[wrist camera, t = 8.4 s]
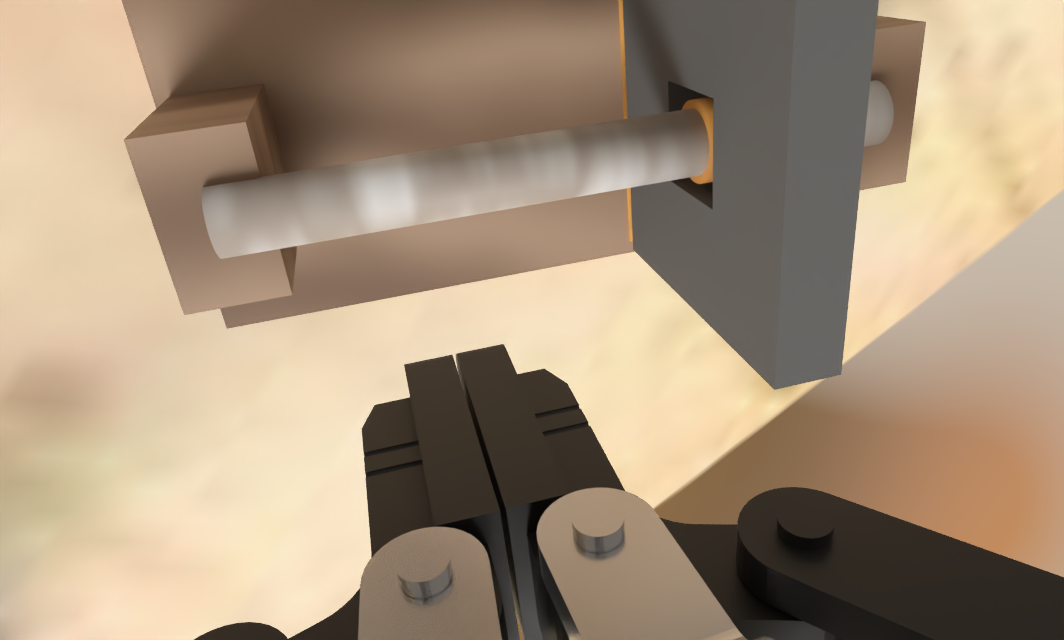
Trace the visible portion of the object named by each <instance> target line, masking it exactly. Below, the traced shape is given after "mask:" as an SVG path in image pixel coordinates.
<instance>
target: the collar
mask: <svg viewBox="0 0 1064 640" xmlns="http://www.w3.org/2000/svg"><path fill="white" fill-rule="evenodd" d="M878 1H879V0H623V20H624V44H625V67H626V91H627V115H628V118H634V117H641V116H647V115H653V114H660V113H666V112H672V111H678V110H682V108H683V106H684V104H685V103H686V102H687V101H689V100H693V99H699V98H706V97H711V98H713V99H714V108H713V182H709V183H703V184H697V183H695V182H694V181H692V180H691V178H690V177H689V178H683V179H677V180H672V181H666V182H660V183H654V184H649V185H643V186H637V187H632V188H631V211H632V234H633V250H634V251H635V252H636V253H637V254H638V255H639V256H640V257H641V258H642V259H643V260H644V261H645V262H646V263H647V264H648V265H649V266H650V267H651V268H652V269H653V270H654V271H655V272H656V273H657V274H658V275H659V276H660V277H661V278H662V279H664V280H665V281H666V282H667V283H668V284H669V285H670V286H671V287H672V288H673V289H674V290H675V291H676V292H677V293H678V294H679V295H680V296H681V297H682V298H683V299H684V300H685V301H686V302H687V303H688V304H689V305H690V306H691V307H692V308H693V309H694V310H695V311H696V312H697V313H698V314H699V315H700V316H701V317H702V318H703V319H704V320H705V321H706V322H707V323H708V324H709V325H710V326H711V327H712V328H713V329H714V330H715V331H716V332H717V333H718V334H719V335H720V336H721V337H722V338H723V339H724V340H725V341H726V342H727V343H728V344H729V345H730V346H731V347H732V348H733V349H734V350H735V351H736V352H737V353H738V354H739V355H740V356H741V357H742V358H743V359H744V360H745V361H746V362H747V363H748V364H749V365H750V366H751V367H752V368H753V369H754V370H755V371H756V372H757V373H758V374H759V375H760V376H761V377H762V378H763V379H764V380H765V381H766V382H767V383H768V384H769V385H770V386H771V387H772V388H773V389H774V390H775V389H780V388H784V387H788V386H793V385H797V384H802V383H806V382H810V381H815V380H819V379H824V378H828V377H832V376H836V375H841V369H842V360H843V350H844V340H845V330H846V320H847V310H848V300H849V290H850V280H851V270H852V260H853V250H854V240H855V230H856V220H857V210H858V200H859V190H860V180H861V170H862V160H863V150H864V140H865V130H866V120H867V110H868V100H869V90H870V80H871V70H872V61H873V51H874V41H875V31H876V21H877V11H878Z"/></svg>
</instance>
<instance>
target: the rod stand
mask: <svg viewBox="0 0 1064 640" xmlns="http://www.w3.org/2000/svg"><path fill="white" fill-rule="evenodd" d="M122 2H123V6H124V9H125V12H126V15H127V18H128V21H129V24H130V27H131V31H132V34H133V37H134V40H135V43H136V46H137V49H138V52H139V56H140V59H141V62H142V65H143V68H144V71H145V74H146V77H147V81H148V84H149V87H150V90H151V93H152V96H153V99H154V102H155V106H156V110H155V111H154V112H153V113H152V114H150V115H149V116H148V117H147V118H146V119H145V120H144V121H143V122H142V123H141V124H140V125H139V126H138V127H137V128H136V129H135V130H134V131H133V132H132V133H130V134H129V135H128V136H127V137H126V138H125V139H124V142H125V145H126V148H127V151H128V154H129V156H130V159H131V162H132V165H133V168H134V171H135V174H136V177H137V180H138V182H139V185H140V188H141V191H142V194H143V197H144V200H145V203H146V206H147V208H148V211H149V214H150V217H151V220H152V223H153V226H154V229H155V232H156V235H157V237H158V240H159V243H160V246H161V249H162V252H163V255H164V258H165V261H166V263H167V266H168V269H169V272H170V275H171V278H172V281H173V284H174V287H175V289H176V292H177V295H178V298H179V301H180V304H181V307H182V310H183V313H184V315H187V314H192V313H198V312H203V311H208V310H214V309H219V308H220V309H221V312H222V315H223V318H224V321H225V324H226V327H227V328H232V327H237V326H243V325H248V324H253V323H258V322H264V321H269V320H274V319H280V318H285V317H290V316H295V315H301V314H306V313H311V312H317V311H322V310H327V309H333V308H338V307H343V306H348V305H354V304H359V303H364V302H370V301H375V300H380V299H385V298H391V297H396V296H401V295H407V294H412V293H417V292H422V291H428V290H433V289H438V288H444V287H449V286H454V285H460V284H465V283H470V282H475V281H481V280H486V279H491V278H497V277H502V276H507V275H512V274H518V273H523V272H528V271H534V270H539V269H544V268H550V267H555V266H560V265H565V264H571V263H576V262H581V261H587V260H592V259H597V258H602V257H608V256H613V255H618V254H624V253H629V252H634V250H633V234H632V211H631V188H632V187H637V186H643V185H649V184H654V183H660V182H666V181H672V180H677V179H683V178H689V177H690V178H691V180H692V181H694V182H695V183H697V184H703V183H709V182H713V108H714V99H713V98H711V97H706V98H699V99H693V100H689V101H687V102H686V103H685V104H684V106H683V108H682V110H678V111H672V112H666V113H660V114H653V115H647V116H641V117H634V118H628V115H627V91H626V67H625V44H624V20H623V0H122ZM925 26H926V22H921V21H913V20H906V19H898V18H890V17H882V16H877V21H876V31H875V41H874V51H873V61H872V70H871V80H870V90H869V100H868V110H867V120H866V130H865V140H864V150H863V160H862V170H861V180H860V190H864V189H870V188H875V187H880V186H886V185H891V184H897V183H902V182H906V174H907V166H908V158H909V151H910V143H911V135H912V127H913V119H914V112H915V104H916V96H917V88H918V80H919V73H920V65H921V57H922V49H923V41H924V34H925Z"/></svg>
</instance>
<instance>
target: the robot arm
mask: <svg viewBox="0 0 1064 640" xmlns="http://www.w3.org/2000/svg"><path fill="white" fill-rule="evenodd" d="M456 362H457V368H456V365H455V362H454V358H453V356H452V355H449V356H444V357H439V358H434V359H429V360H424V361H420V362H415V363H410V364H405V365H404V366H405V371H406V377H407V382H408V387H409V393H410V398H406V399H401V400H396V401H392V402H387V403H382V404H377V405H375V406H374V407H373V409H372V411H371V413H370V415H369V417H368V418H367V420H366V422H365V424H364V426H363V428H362V437H363V449H364V456H365V457H364V462H365V473H366V487H367V500H368V513H369V526H370V538H371V551H372V557H371V559H370V561H369V562H368V564H367V566H366V567H365V569H364V572H363V575H362V578H361V584H360V589H359V590H358V591H357V592H356V594H355V595H354V596H353V597H352V598H351V599H350V600H349V601H348V602H347V603H346V604H345V605H344V606H343V607H342V608H340V609H339V610H338V611H336V612H335V613H334V614H332V615H331V616H329V617H327V618H326V619H324V620H322V621H321V622H319V623H317V624H315V625H313V626H311V627H310V628H308V629H306V630H304V631H302V632H300V633H298V634H297V635H295V636H293V637H291V638H289V639H287V637H286V636H285V635H284V634H283V633H282V632H280V631H279V630H278V629H276V628H274V627H272V626H270V625H266V624H262V623H253V622H245V623H236V624H231V625H226V626H223V627H220V628H217V629H214V630H212V631H210V632H207V633H205V634H203V635H201V636H199V637H198V638H196V639H194V640H520V639H519V632H518V625H517V619H516V615H517V618H518V622H519V626H520V629H521V633H522V636H523V640H1064V577H1061V576H1058V575H1055V574H1053V573H1050V572H1047V571H1044V570H1041V569H1039V568H1035V567H1033V566H1030V565H1027V564H1025V563H1022V562H1019V561H1016V560H1013V559H1010V558H1007V557H1005V556H1002V555H999V554H996V553H993V552H990V551H988V550H985V549H982V548H980V547H977V546H974V545H971V544H968V543H966V542H963V541H960V540H957V539H954V538H952V537H949V536H946V535H943V534H940V533H937V532H935V531H932V530H929V529H926V528H923V527H921V526H917V525H915V524H912V523H909V522H907V521H904V520H901V519H898V518H895V517H892V516H890V515H887V514H884V513H881V512H879V511H876V510H873V509H870V508H867V507H864V506H862V505H859V504H856V503H853V502H850V501H847V500H845V499H842V498H839V497H836V496H834V495H831V494H828V493H825V492H821V491H818V490H813V489H808V488H797V487H790V488H789V487H788V488H778V489H773V490H769V491H766V492H763V493H761V494H759V495H757V496H755V497H754V498H752V499H751V500H750V501H748V503H747V504H746V505H745V506H744V507H743V509H742V511H741V512H740V515H739V518H738V525H714V524H712V525H711V524H710V525H709V524H706V525H705V524H684V523H678V522H672V521H669V520H665V519H662V518H660V517H659V516H658V515H657V513H656V512H655V511H654V509H653V508H652V507H651V506H650V505H649V504H648V503H647V502H645V501H644V500H643V499H641V498H639V497H638V496H636V495H634V494H631V493H629V492H626V491H625V490H624V488H623V486H622V484H621V482H620V480H619V479H618V477H617V475H616V473H615V471H614V469H613V467H612V466H611V464H610V462H609V460H608V458H607V456H606V454H605V453H604V451H603V449H602V447H601V445H600V443H599V441H598V440H597V438H596V436H595V434H594V432H593V430H592V428H591V427H590V426H589V425H588V421H587V419H586V417H585V415H584V414H583V412H582V410H581V409H579V404H578V403H577V401H576V399H575V397H574V395H573V393H572V391H571V390H570V388H569V386H568V384H567V383H565V382H564V381H562V380H561V379H559V378H558V377H556V376H555V375H553V374H552V373H550V372H549V371H547V370H545V369H541V370H536V371H531V372H527V373H522V374H517V373H516V371H515V368H514V366H513V364H512V362H511V359H510V357H509V355H508V352H507V350H506V348H505V346H504V345H503V344H501V345H496V346H492V347H487V348H482V349H477V350H472V351H467V352H462V353H458V354H456ZM457 369H458V371H457ZM515 611H516V612H515Z"/></svg>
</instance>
